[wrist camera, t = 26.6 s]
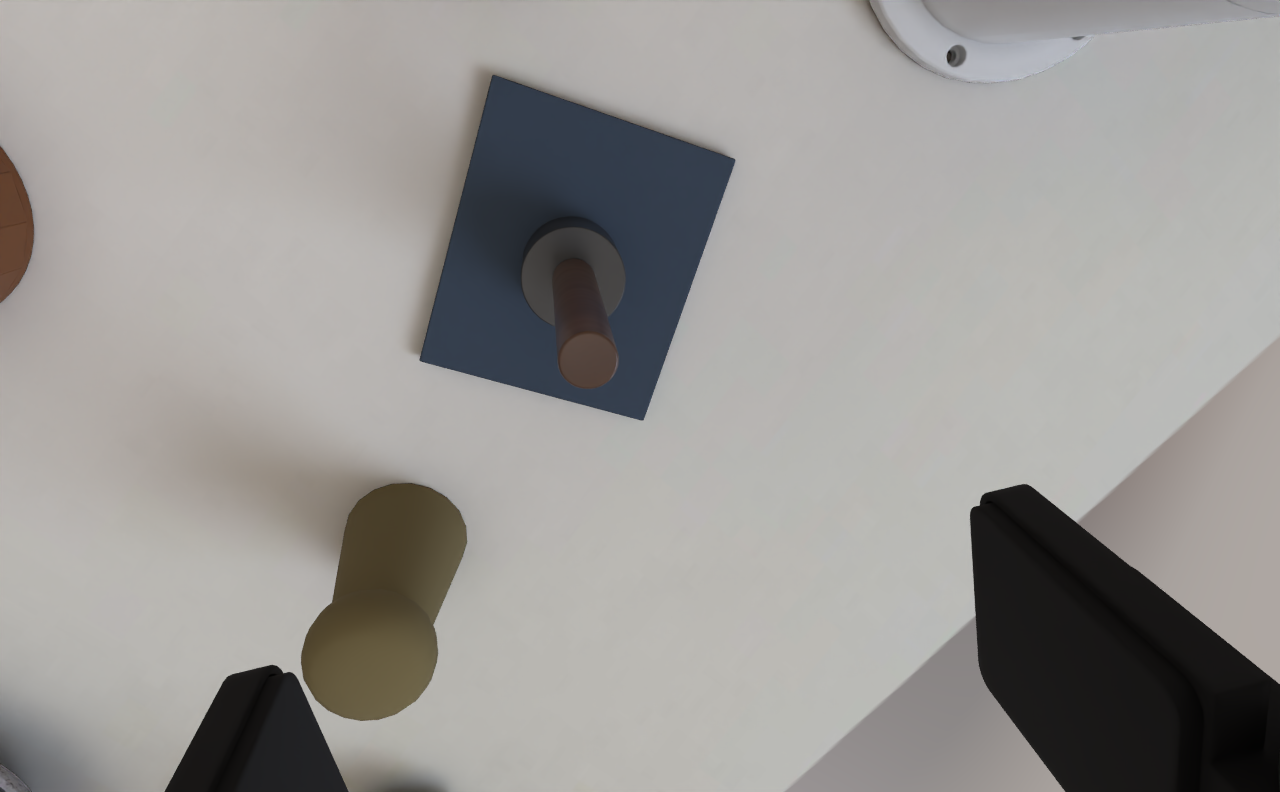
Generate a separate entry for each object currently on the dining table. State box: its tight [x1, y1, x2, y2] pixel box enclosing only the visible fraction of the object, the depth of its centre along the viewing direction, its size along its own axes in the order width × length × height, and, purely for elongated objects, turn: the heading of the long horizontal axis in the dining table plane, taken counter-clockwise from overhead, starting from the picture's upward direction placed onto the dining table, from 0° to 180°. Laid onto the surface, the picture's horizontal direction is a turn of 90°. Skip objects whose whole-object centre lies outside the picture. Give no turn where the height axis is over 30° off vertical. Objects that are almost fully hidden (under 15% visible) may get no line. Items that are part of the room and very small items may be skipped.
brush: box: [521, 216, 626, 389], centre depth 30 cm, size 4×4×14 cm
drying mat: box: [420, 75, 735, 420], centre depth 37 cm, size 13×11×1 cm
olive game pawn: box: [301, 484, 467, 721], centre depth 36 cm, size 6×6×11 cm
